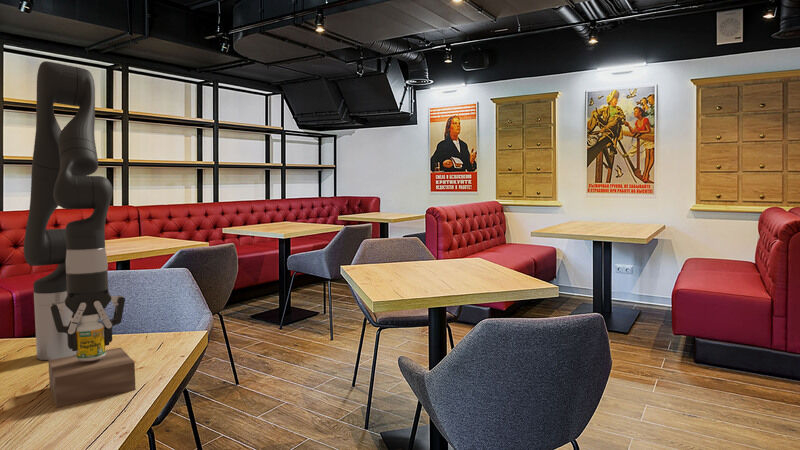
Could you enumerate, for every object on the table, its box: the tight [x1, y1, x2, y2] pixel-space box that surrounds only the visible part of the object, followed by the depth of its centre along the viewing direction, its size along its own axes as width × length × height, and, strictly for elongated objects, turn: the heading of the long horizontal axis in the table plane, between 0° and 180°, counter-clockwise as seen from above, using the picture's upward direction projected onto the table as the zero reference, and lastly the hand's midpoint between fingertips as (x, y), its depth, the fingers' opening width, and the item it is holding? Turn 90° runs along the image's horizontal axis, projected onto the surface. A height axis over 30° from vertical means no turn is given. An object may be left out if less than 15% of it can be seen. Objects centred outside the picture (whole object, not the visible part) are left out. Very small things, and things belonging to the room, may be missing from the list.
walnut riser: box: [47, 347, 137, 408], centre depth 108 cm, size 14×14×6 cm
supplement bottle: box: [75, 314, 106, 361], centre depth 108 cm, size 5×5×10 cm
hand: (90, 347), depth 108 cm, fingers closed on supplement bottle, 5 cm apart
